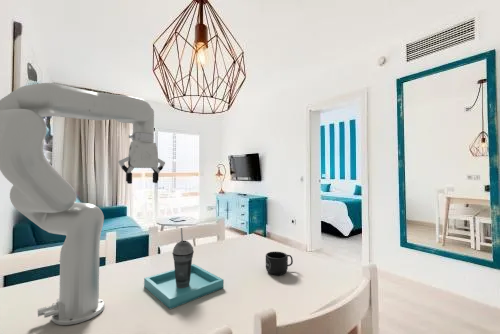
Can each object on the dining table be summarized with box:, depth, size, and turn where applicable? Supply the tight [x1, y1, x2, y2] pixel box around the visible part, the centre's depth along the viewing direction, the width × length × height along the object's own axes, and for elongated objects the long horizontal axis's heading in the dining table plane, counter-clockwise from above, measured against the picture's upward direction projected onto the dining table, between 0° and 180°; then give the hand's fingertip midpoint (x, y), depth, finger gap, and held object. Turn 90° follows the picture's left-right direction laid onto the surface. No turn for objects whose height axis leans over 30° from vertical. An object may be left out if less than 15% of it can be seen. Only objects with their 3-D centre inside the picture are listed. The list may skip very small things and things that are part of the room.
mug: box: [265, 251, 294, 276], centre depth 104 cm, size 12×9×7 cm
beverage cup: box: [172, 227, 194, 288], centre depth 89 cm, size 7×7×20 cm
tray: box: [143, 263, 225, 310], centre depth 90 cm, size 20×20×3 cm
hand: (142, 183), depth 98 cm, fingers open, 9 cm apart
